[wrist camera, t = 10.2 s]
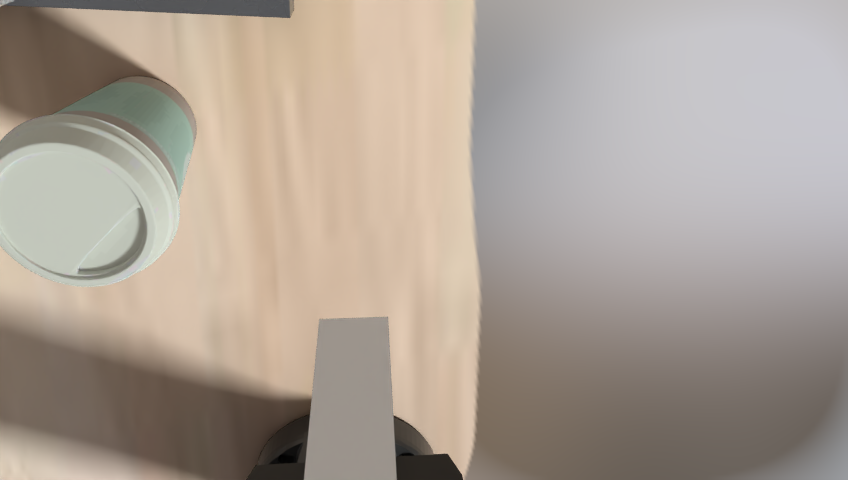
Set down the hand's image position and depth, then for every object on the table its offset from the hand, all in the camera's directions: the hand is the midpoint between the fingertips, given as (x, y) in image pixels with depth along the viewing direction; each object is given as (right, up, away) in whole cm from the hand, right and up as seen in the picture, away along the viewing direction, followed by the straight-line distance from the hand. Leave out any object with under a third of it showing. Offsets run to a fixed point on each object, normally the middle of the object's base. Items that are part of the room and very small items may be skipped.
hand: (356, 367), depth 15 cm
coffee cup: (-15, +10, +25) cm, 31 cm away
